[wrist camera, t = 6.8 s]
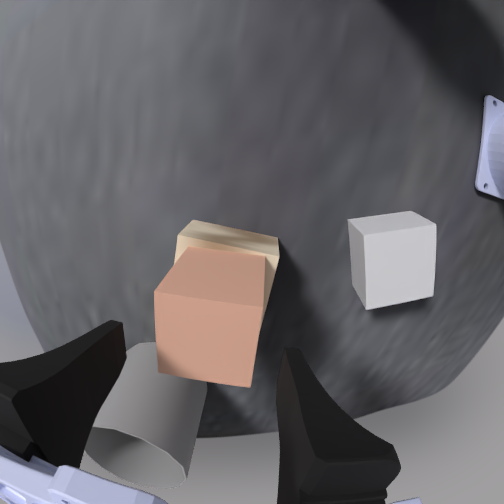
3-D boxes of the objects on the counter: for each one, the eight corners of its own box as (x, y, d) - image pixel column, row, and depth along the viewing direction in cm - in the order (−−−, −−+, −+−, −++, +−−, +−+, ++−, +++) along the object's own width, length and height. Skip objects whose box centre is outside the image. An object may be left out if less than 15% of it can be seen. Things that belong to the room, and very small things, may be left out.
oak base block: (277, 237, 22) (279, 256, 18) (259, 310, 24) (257, 340, 20) (193, 218, 22) (178, 234, 18) (182, 293, 24) (168, 320, 20)
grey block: (410, 210, 20) (436, 224, 17) (410, 273, 22) (433, 296, 18) (347, 219, 21) (363, 235, 17) (351, 283, 23) (365, 310, 19)
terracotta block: (265, 256, 18) (263, 307, 12) (255, 322, 19) (250, 387, 14) (188, 246, 18) (154, 291, 12) (185, 312, 20) (158, 372, 14)
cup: (135, 326, 25) (82, 407, 15) (221, 367, 26) (202, 462, 16) (115, 383, 27) (76, 456, 18) (188, 418, 28) (167, 497, 19)
